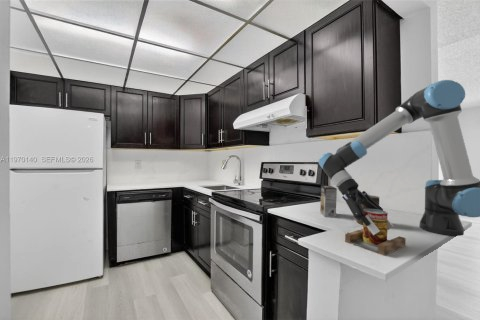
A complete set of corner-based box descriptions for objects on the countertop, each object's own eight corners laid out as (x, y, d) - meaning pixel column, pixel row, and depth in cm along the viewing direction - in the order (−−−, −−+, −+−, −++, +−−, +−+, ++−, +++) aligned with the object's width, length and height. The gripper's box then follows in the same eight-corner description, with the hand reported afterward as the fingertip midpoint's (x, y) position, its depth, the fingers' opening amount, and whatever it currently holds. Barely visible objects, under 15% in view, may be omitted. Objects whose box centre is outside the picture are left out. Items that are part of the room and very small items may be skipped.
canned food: (370, 246, 81) (371, 213, 81) (358, 238, 89) (359, 208, 89) (391, 246, 81) (392, 213, 81) (378, 238, 89) (378, 208, 89)
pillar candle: (372, 227, 105) (373, 195, 105) (352, 221, 114) (353, 192, 113) (382, 224, 110) (383, 194, 110) (362, 219, 119) (364, 191, 118)
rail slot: (367, 234, 95) (367, 227, 95) (405, 245, 83) (405, 237, 83) (345, 241, 87) (345, 233, 87) (384, 255, 75) (384, 246, 75)
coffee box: (319, 212, 132) (320, 185, 131) (331, 213, 131) (331, 185, 131) (324, 216, 122) (324, 187, 122) (336, 217, 122) (337, 187, 122)
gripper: (353, 187, 104) (390, 230, 91) (322, 190, 92) (359, 241, 79) (365, 176, 99) (405, 221, 86) (334, 178, 87) (376, 230, 74)
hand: (383, 230), depth 82 cm, fingers open, 9 cm apart
